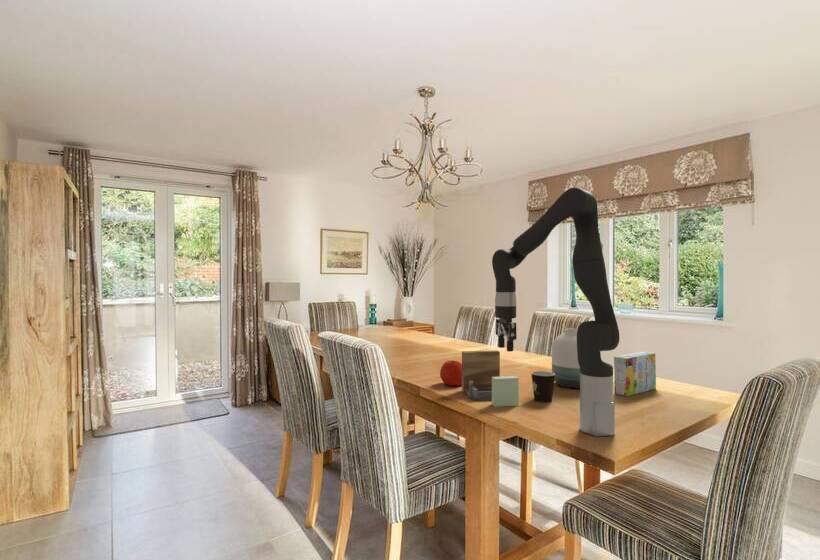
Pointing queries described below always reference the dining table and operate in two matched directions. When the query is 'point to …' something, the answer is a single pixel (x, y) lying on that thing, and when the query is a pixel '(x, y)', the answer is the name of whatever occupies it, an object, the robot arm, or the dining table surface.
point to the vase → (566, 359)
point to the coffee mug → (543, 385)
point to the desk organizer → (479, 373)
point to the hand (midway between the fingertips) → (505, 349)
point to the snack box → (634, 373)
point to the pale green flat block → (505, 391)
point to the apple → (451, 373)
